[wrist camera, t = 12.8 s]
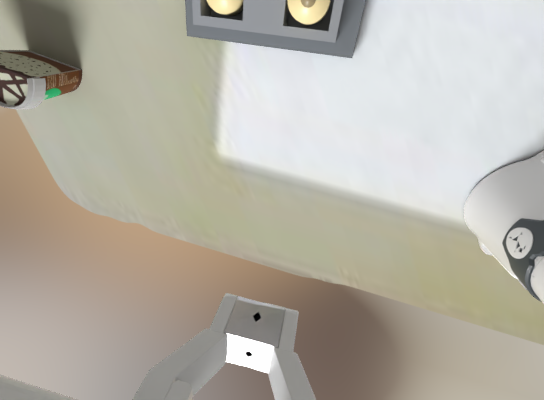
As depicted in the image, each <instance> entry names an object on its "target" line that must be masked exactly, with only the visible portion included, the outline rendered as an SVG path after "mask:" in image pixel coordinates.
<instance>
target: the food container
mask: <svg viewBox="0 0 544 400" xmlns="http://www.w3.org/2000/svg"><path fill="white" fill-rule="evenodd" d="M81 79H82V70H81V69H79V68H76V67H73V66H70V65H68V64H65V63H62V62H60V61H57V60H54V59H51V58H49V57H46V56H43V55H41V54H38V53H35V52H32V51H30V50H0V106H2V107H6V108H11V109H32V108H35V107H37V106H38V105H40V103H41V102H42V101H43V100H45V99H48V98H52V97H55V96H58V95H62V94H65V93H68V92H72V91H74V90H76V89H77V88H78V87H79V85H80V83H81Z"/></svg>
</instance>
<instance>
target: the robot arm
mask: <svg viewBox="0 0 544 400" xmlns="http://www.w3.org/2000/svg"><path fill="white" fill-rule="evenodd" d="M464 219H465V222H466V224H467V226H468V228H469V229H470V230H471V231H472V232H473V233H474V234H475V235H476V236H477V238H478V241H479V246H480V248H481V250H482V251H483V252H484V253H485V254H487V255H493V256H494V257H495V258H496V259H497V260H498V261H499V262H500V264H501V265H502V266H503V267H504V268H505V269H506V270H507V271H508V272H509V273H510V274H511V275H512V276H513V277H515V278H517V279H519V280H518V281H519V282H520V283H521V284H522V286H523V287H524V288H525V289H526V290H528V291H529V292H530V294H531V295H532V296H533V297H535V298H536V299H537V300H539V301H541V302H542V303H543V304H544V150H543V151H542V152H540V153H538V154H537V155H535V156H534V157H532V158H529V159H527V160H524V161H520V162H517V163H513V164H510V165H508V166H505V167H503V168H501V169H499V170H497V171H495V172H493V173H491V174H490V175H488V176H487V177H486V178H484V179H483V180H482V181H481V182H480V183H478V184H477V185H476V187H475V188H474V189H473V190H472V191H471V193H470V194H469V196H468V198H467V200H466V203H465V206H464ZM297 320H298V311H296V310H292V309H287V308H286V309H285V307H281V306H276V305H272V304H268V303H264V302H258V301H254V300H250V299H247V298H243V297H240V296H236V295H232V294H228V293H226V294H225V296H224V298H223V300H222V302H221V304H220V306H219V308H218V311H217V313H216V315H215V317H214V320H213V322H212V324H211V327H210V329H204V330H203V331H202V332H200V333H199V334H197V335H196V336H195V337H193V338H192V339H191V340H189V341H188V342H187V343H185V344H184V345H183V346H181V347H180V348H179V349H177V350H176V351H174V352H173V353H172V354H171V355H169V356H168V357H166V358H165V359H164V360H162V361H161V362H159V363H158V364H157V365H155V366H154V367H153V368H151V369H150V370H149V372H148V374H147V375H146V377H145V379H144V380H143V382H142V384H141V386H140V387H139V389H138V391H137V392H136V394H135V396H134V398H133V400H193V396H194V395H195V394H196V392H198V391H199V390H200V389H201V387H203V385H205V384H206V383H207V382H208V381H209V380H210V378H212V377H213V376H214V375H215V374H216V373H217V372H218V371H219V370H220V368H222V366H224V365H225V363H226V362H230V363H234V364H238V365H242V366H246V367H249V368H253V369H256V370H259V371H262V372H265V373H268V374H269V379H270V382H271V386H272V390H273V394H274V398H275V400H316V398H315V396H314V393H313V391H312V388H311V386H310V384H309V381H308V379H307V376H306V374H305V372H304V369H303V367H302V365H301V362H300V360H299V357H298V355H297V353H294V352H293V350H294V342H295V335H296V328H297ZM0 400H77V399H73V398H71V397H68V396H64V395H62V394H58V393H55V392H52V391H49V390H46V389H43V388H40V387H37V386H33V385H31V384H27V383H24V382H21V381H18V380H15V379H12V378H9V377H6V376H3V375H0Z"/></svg>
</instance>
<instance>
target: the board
mask: <svg viewBox="0 0 544 400" xmlns="http://www.w3.org/2000/svg"><path fill="white" fill-rule="evenodd" d="M365 1H366V0H331V1H330V6H329V9H328V11H327V13H326V15H325V16H324V18H323V19H322V20H320V21H319V22H317V23H315V24H312V25H306V24H302V23H300V22H299V21H297V20H296V19H295V18H294V17H293V16H292V15H291V13H290V11H289V8H288V1H287V0H243V9H242V11H241V12H240V13H238V14H237V15H234V16H228V15H224V14H220V13H217V12H215V11H214V10H213V9H212V8H211V7H210V6H209V4H208V2H207V0H185V6H186V26H187V36H191V37H199V38H206V39H214V40H221V41H229V42H236V43H243V44H251V45H258V46H266V47H273V48H281V49H288V50H295V51H303V52H310V53H318V54H325V55H333V56H340V57H347V58H352V56H353V52H354V48H355V44H356V39H357V35H358V31H359V27H360V23H361V18H362V14H363V10H364V6H365Z"/></svg>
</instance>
